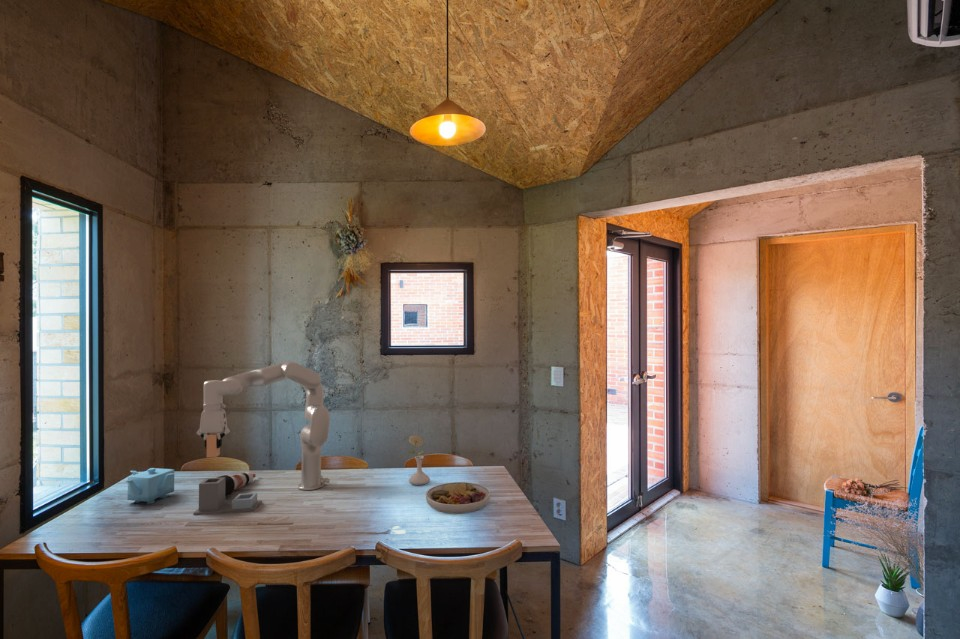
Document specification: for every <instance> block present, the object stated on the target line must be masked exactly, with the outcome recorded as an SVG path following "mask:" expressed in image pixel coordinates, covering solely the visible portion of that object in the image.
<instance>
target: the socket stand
mask: <svg viewBox="0 0 960 639" xmlns="http://www.w3.org/2000/svg"><path fill="white" fill-rule="evenodd" d="M262 502H263V500H262V499H260V500H259V499H258V492H253V493H251V492H249V493H238V494H237V495H236V496H235V498H233V499H232V501H227V502H226V497H225V477H222V478H217V477H207V478H205V479H204V480H202V481H201V482H200V483H198V508H197V509H196V510H195V511H194V512H193V513H192V514H193V516H201V515H202V516H203V515H217V514H232V513H233V514H235V513H247V512H248V513H249V512H255V511H256V510H257V508H259V507H260V505H261V504H262Z"/></svg>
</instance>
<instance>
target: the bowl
mask: <svg viewBox="0 0 960 639" xmlns="http://www.w3.org/2000/svg"><path fill="white" fill-rule="evenodd" d="M425 499H426V503H427V504H428V506H430V508H432V509H433V510H435V511H438V512H441V513H445V514H453V515H454V514H456V515H458V514H467V513H473V512H476V511H478V510H480V509H482V508H483V507H485V506H486V505H488V502H489V501H490V499H491V491H490V490H489V488H487V487H486V486H484V485H481V484H479V483H473V482H467V481H466V482H465V481H456V482H445V483H442V484H437V485H434V486H432V487H430V488H428V490H427V491H426V493H425Z"/></svg>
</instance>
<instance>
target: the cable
mask: <svg viewBox="0 0 960 639" xmlns="http://www.w3.org/2000/svg"><path fill="white" fill-rule="evenodd" d="M222 477H225V498H226V497H229V496H230V495H232V493H233V492H234V491H235V490H238V489H240V488H242V487H243V486H246V485H249V484H251V483H252V482H253V480H254V478H256V477H257V476H256V473H252V472H250V471H245V472H242V473H238V474H234V475H231V476H230V475H227V474H226V475H225V474H224V475H221V476H217V477H216V478H222Z"/></svg>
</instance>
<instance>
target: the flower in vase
mask: <svg viewBox="0 0 960 639" xmlns="http://www.w3.org/2000/svg"><path fill="white" fill-rule="evenodd" d="M408 442H409V443H410V445H411V446H413V447H417V448H419V447H421V446H423V445H424V440H423V438H421V437H420V436H419V435H416V434H415V435H411V436H409V439H408ZM423 452H424V450H423V451H422V450H421V451H419V452H418V453H417V451H416V450H414V449H410V450H408V454H411V455H415V454H416V456H414V459H415V461H416V468H417V469H416V471H415V473H414V474H412V475H411V476H410V477H408V478H409V479H408V483H409V484H411V485H412V486H413V485H414V486H423V485H425V484H428V483H430V481H431V478H430V476H429V475H428V474H426V473H424V471H423V470H422V463H423V460H424V458H425V456H424V455H421V454H423Z"/></svg>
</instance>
